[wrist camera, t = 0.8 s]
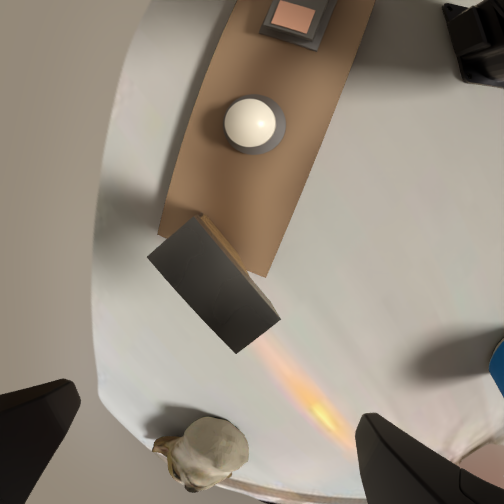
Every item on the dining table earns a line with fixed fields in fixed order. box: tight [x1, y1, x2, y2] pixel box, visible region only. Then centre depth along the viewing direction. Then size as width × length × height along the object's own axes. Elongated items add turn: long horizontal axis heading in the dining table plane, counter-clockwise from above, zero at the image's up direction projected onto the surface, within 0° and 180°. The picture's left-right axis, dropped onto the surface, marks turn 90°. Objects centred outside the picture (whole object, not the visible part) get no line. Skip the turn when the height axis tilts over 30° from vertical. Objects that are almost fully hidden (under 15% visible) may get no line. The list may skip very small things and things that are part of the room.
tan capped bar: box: [147, 212, 281, 354], centre depth 14 cm, size 2×4×12 cm, turn 40°
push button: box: [225, 99, 276, 147], centre depth 15 cm, size 3×3×1 cm
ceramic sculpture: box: [152, 417, 249, 493], centre depth 27 cm, size 11×9×15 cm
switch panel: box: [157, 0, 376, 278], centre depth 16 cm, size 8×21×2 cm, turn 160°
